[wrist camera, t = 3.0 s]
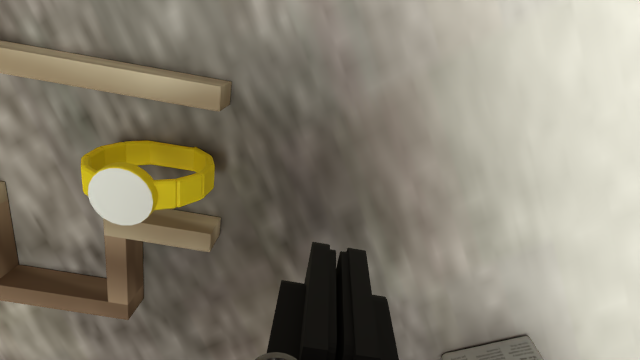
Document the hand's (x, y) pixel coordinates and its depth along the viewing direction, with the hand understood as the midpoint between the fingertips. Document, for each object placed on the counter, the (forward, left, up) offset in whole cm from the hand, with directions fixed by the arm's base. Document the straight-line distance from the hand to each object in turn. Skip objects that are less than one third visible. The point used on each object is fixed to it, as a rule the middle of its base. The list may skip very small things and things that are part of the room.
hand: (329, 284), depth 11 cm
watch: (-1, +9, -10) cm, 14 cm away
